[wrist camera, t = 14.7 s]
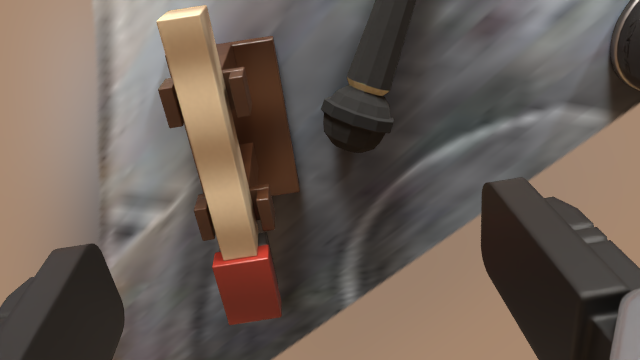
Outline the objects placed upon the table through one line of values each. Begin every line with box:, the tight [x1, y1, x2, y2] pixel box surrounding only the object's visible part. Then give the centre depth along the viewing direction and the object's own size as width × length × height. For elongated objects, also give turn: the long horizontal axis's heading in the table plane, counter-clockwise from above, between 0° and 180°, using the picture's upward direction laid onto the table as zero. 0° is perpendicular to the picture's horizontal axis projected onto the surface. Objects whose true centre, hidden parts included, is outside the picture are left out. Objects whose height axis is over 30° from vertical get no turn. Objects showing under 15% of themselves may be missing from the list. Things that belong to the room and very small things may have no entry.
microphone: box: [321, 0, 416, 153], centre depth 36 cm, size 6×6×20 cm
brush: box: [157, 5, 282, 325], centre depth 31 cm, size 20×4×3 cm, turn 8°
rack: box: [158, 36, 300, 241], centre depth 36 cm, size 13×8×11 cm, turn 8°
